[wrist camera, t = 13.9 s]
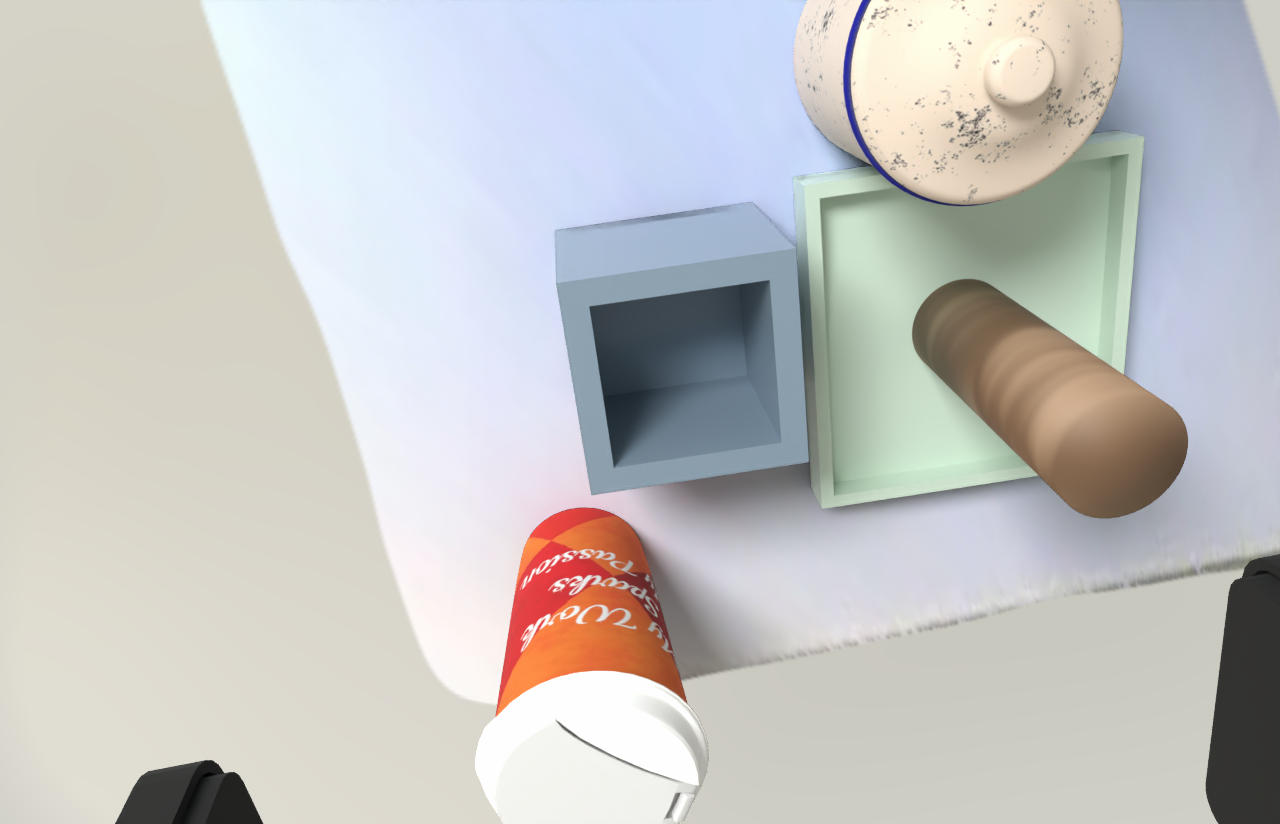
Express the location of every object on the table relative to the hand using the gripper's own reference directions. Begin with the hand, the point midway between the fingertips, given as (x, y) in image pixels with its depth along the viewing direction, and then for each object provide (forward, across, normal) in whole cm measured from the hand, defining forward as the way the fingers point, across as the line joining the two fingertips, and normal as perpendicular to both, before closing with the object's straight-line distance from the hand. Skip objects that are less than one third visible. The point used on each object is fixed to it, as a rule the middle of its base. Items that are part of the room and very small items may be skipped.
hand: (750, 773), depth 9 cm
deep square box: (+33, -2, +7) cm, 34 cm away
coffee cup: (+33, +4, +19) cm, 39 cm away
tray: (+33, -15, +10) cm, 38 cm away
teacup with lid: (+34, -12, -3) cm, 36 cm away
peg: (+32, -15, +10) cm, 37 cm away
